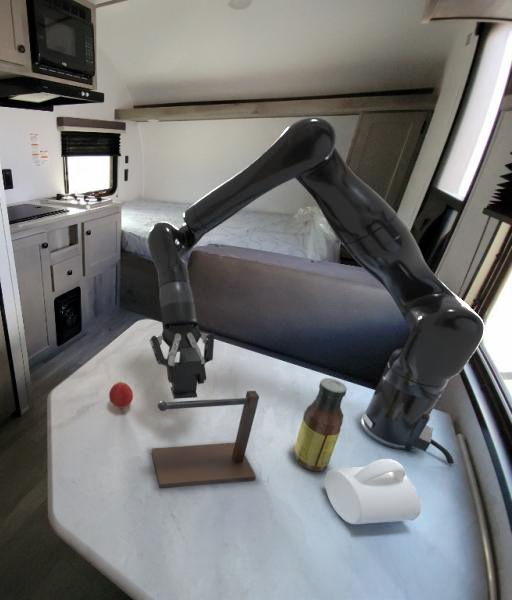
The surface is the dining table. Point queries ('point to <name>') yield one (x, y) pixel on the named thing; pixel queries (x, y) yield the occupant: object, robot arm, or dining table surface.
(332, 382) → the sauce bottle
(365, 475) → the mug
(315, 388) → the dining table surface
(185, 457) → the rack
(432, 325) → the robot arm
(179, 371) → the grey hanging weight
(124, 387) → the red rounded oval body
